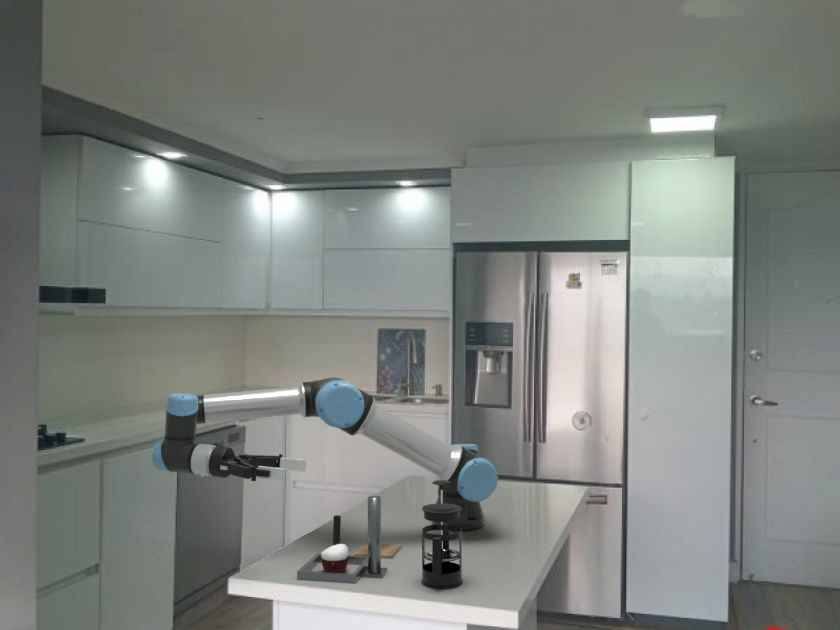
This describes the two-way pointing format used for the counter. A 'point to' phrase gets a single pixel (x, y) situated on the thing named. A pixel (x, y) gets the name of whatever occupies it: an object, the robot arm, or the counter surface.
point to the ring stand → (368, 564)
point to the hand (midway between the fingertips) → (295, 470)
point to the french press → (441, 545)
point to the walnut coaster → (386, 550)
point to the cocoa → (335, 551)
